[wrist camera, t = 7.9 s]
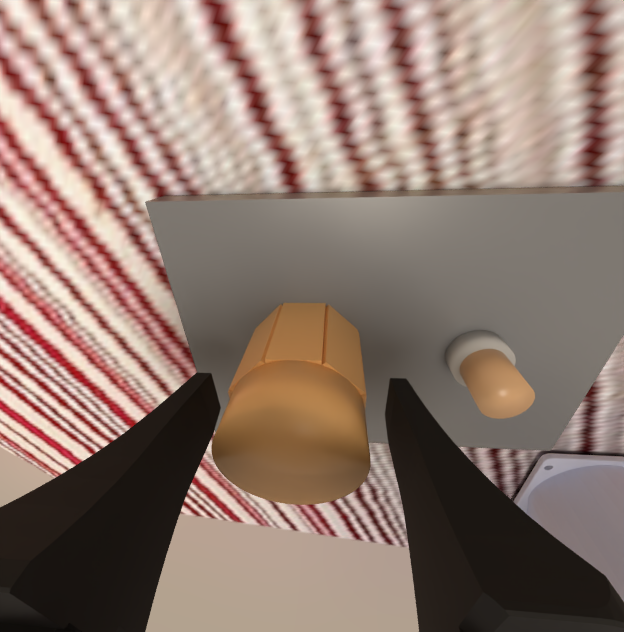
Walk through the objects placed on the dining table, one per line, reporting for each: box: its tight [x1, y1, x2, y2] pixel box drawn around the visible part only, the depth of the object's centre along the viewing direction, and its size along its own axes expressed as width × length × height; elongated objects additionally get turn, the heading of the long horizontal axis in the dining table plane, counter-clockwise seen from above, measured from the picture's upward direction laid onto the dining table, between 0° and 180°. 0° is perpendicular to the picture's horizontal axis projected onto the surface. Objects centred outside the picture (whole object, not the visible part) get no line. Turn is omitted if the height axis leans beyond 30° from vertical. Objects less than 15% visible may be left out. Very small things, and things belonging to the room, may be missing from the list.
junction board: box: [145, 186, 624, 451], centre depth 13 cm, size 14×20×4 cm
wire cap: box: [212, 303, 370, 505], centre depth 12 cm, size 5×5×6 cm
